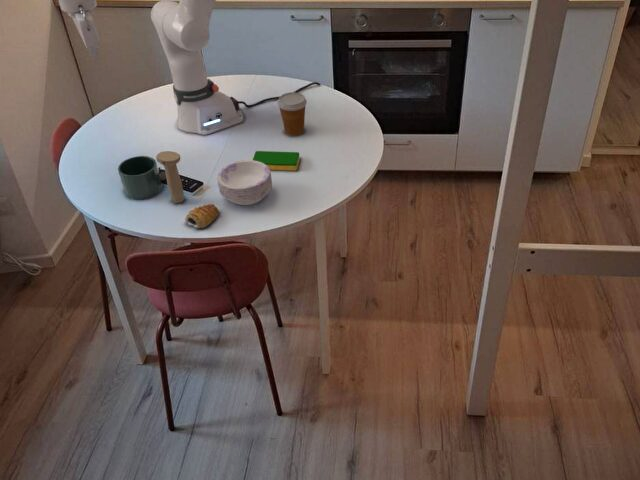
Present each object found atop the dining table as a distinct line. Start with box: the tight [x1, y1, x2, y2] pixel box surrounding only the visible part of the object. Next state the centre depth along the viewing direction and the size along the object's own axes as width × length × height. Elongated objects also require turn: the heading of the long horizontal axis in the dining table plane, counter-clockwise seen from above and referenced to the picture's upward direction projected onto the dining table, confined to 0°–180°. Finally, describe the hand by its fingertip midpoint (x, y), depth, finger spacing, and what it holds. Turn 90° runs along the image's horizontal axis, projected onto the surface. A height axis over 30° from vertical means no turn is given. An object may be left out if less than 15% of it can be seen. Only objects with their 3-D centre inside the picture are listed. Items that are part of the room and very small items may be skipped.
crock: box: [117, 155, 163, 200], centre depth 179 cm, size 11×11×8 cm
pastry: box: [184, 204, 219, 229], centre depth 169 cm, size 9×7×4 cm
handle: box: [155, 150, 185, 204], centre depth 172 cm, size 5×6×15 cm
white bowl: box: [216, 159, 273, 206], centre depth 176 cm, size 15×15×8 cm
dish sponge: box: [252, 150, 301, 172], centre depth 191 cm, size 7×14×2 cm, turn 86°
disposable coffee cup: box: [277, 91, 308, 137], centre depth 202 cm, size 10×10×12 cm
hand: (93, 52), depth 165 cm, fingers open, 8 cm apart
